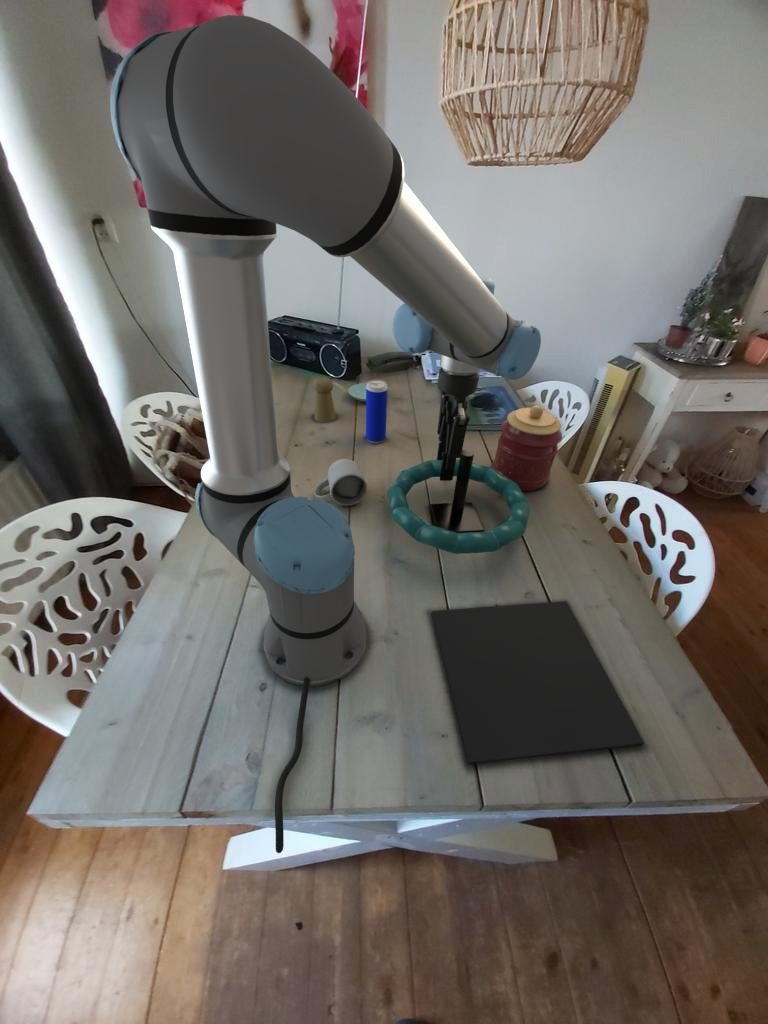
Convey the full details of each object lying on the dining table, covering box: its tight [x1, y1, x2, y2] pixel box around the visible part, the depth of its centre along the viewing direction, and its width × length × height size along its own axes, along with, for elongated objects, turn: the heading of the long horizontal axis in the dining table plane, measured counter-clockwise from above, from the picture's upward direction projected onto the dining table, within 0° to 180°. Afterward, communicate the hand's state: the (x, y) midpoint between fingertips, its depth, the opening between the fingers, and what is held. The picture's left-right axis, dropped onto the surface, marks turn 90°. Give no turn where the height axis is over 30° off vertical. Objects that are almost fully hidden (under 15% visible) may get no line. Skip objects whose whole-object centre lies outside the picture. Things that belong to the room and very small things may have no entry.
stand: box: [429, 449, 485, 533], centre depth 85 cm, size 9×9×16 cm
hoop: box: [386, 459, 532, 555], centre depth 86 cm, size 27×27×4 cm
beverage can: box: [365, 379, 389, 444], centre depth 110 cm, size 5×5×15 cm
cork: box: [312, 376, 337, 423], centre depth 120 cm, size 6×6×11 cm
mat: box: [431, 600, 645, 765], centre depth 64 cm, size 23×23×1 cm
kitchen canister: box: [491, 404, 563, 491], centre depth 98 cm, size 13×13×18 cm
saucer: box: [347, 382, 368, 403], centre depth 133 cm, size 12×12×2 cm
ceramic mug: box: [313, 458, 368, 507], centre depth 93 cm, size 11×8×8 cm
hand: (443, 473), depth 96 cm, fingers closed on hoop, 3 cm apart
